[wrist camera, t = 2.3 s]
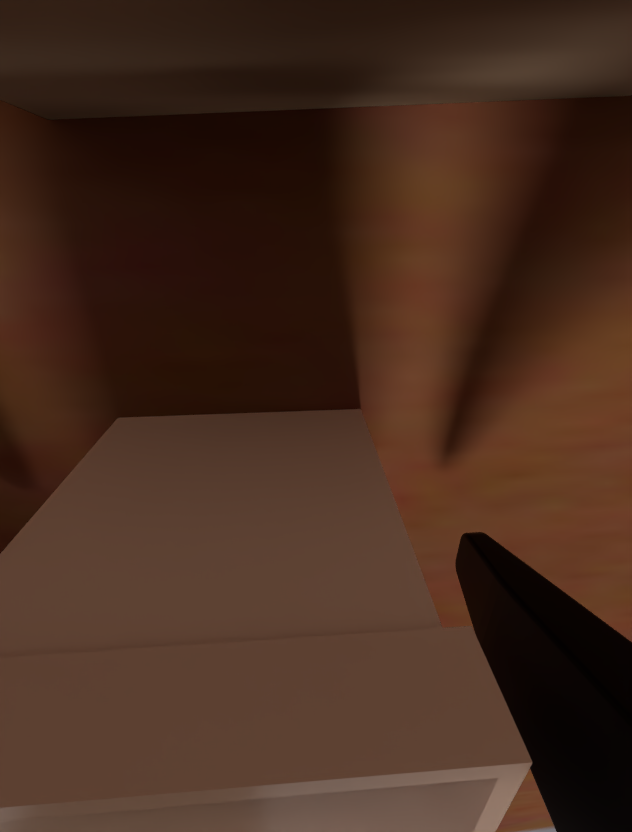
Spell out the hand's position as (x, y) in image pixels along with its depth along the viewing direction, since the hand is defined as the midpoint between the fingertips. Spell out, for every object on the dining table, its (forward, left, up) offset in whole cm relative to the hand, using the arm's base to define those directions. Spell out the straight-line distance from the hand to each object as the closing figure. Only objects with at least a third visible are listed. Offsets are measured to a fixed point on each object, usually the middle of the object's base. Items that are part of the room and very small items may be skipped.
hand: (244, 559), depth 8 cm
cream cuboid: (0, 0, -2) cm, 2 cm away
